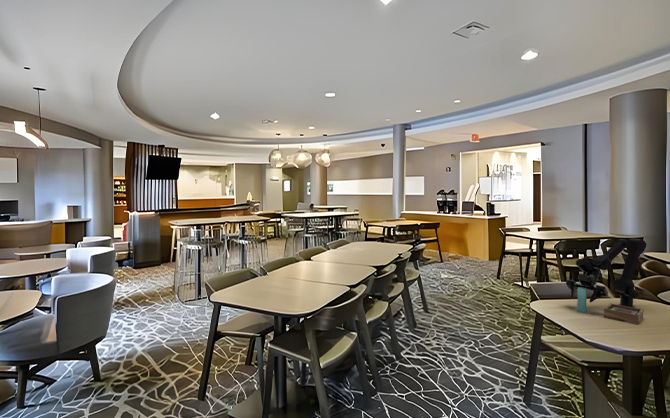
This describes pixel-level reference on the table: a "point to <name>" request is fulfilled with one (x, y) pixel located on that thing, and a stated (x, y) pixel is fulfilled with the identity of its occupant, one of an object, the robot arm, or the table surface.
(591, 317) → the table surface
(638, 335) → the table surface
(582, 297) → the peg
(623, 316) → the tray
